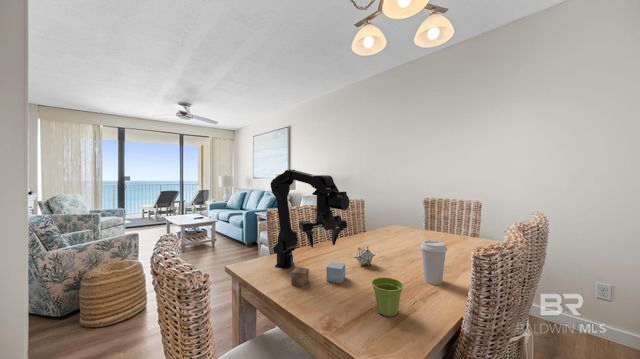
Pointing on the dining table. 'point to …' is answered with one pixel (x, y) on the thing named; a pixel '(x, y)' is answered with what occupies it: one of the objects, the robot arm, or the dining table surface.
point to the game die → (364, 256)
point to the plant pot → (387, 295)
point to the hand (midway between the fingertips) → (322, 246)
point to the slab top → (335, 268)
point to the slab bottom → (335, 279)
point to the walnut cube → (300, 276)
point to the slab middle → (336, 275)
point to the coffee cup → (433, 261)
